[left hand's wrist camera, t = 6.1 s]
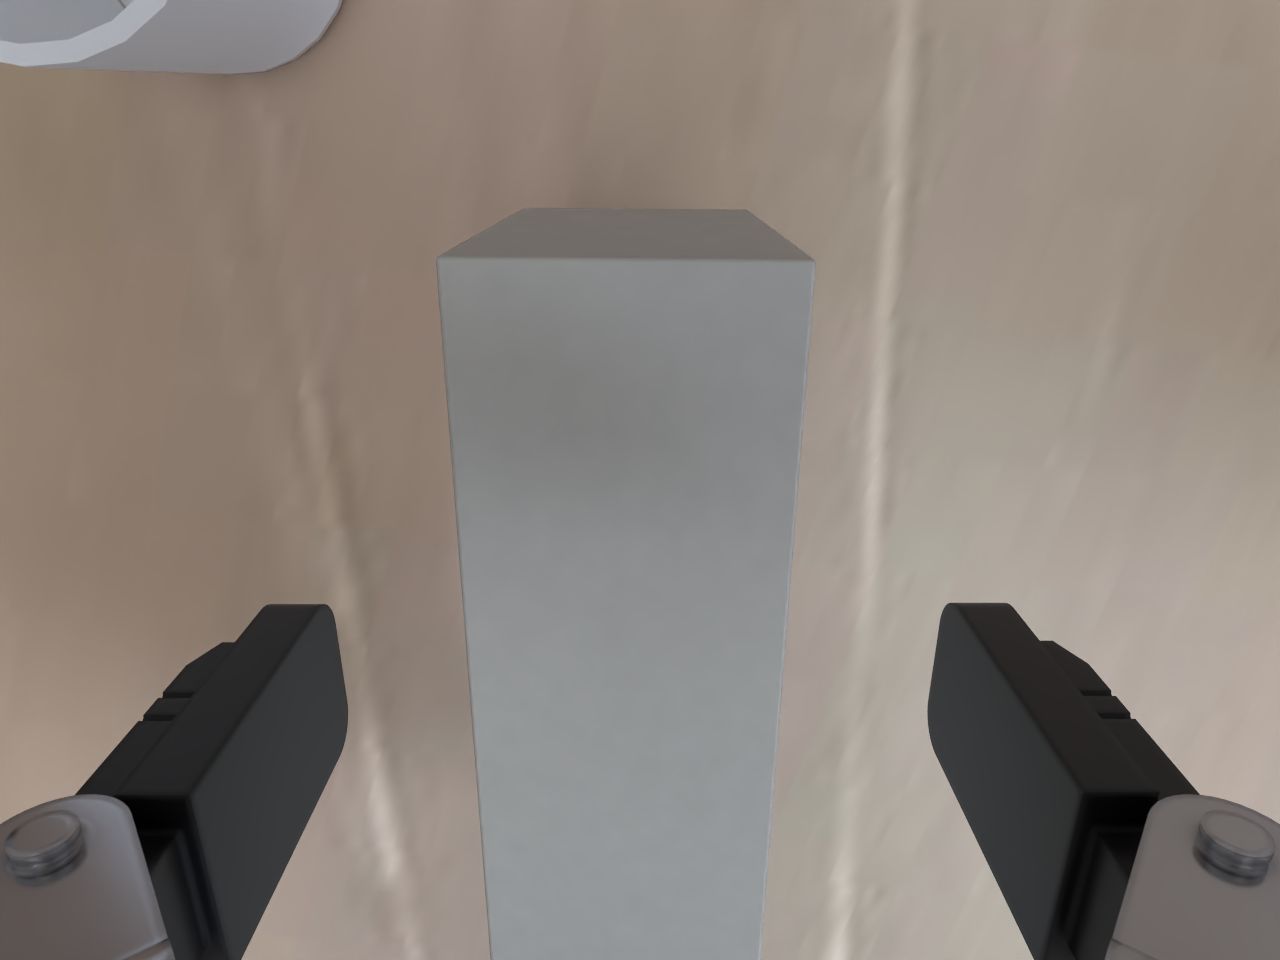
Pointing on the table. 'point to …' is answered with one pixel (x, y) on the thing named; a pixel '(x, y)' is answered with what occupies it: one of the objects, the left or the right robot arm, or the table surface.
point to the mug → (161, 34)
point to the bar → (625, 567)
